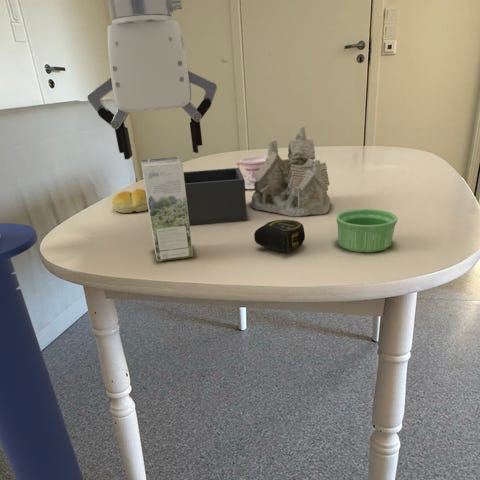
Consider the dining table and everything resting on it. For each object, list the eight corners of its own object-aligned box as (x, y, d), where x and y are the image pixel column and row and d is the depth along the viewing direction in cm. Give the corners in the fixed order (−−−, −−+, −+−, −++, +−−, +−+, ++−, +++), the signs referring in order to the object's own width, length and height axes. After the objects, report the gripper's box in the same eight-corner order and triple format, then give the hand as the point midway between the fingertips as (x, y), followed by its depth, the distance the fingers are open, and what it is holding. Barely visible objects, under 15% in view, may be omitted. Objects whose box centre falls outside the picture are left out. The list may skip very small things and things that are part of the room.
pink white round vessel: (281, 178, 117) (281, 154, 114) (280, 189, 106) (280, 162, 103) (236, 180, 118) (234, 156, 115) (231, 191, 108) (229, 164, 105)
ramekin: (378, 258, 64) (381, 229, 62) (324, 247, 70) (325, 220, 68) (403, 240, 70) (407, 213, 68) (352, 231, 75) (353, 206, 73)
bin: (181, 225, 85) (176, 185, 81) (182, 208, 96) (178, 172, 92) (246, 220, 85) (244, 179, 82) (241, 204, 96) (238, 167, 93)
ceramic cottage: (251, 197, 100) (250, 125, 92) (325, 197, 99) (331, 124, 91) (248, 222, 87) (247, 140, 78) (334, 222, 86) (341, 139, 77)
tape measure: (252, 249, 71) (251, 226, 69) (282, 237, 75) (281, 216, 73) (283, 258, 67) (283, 234, 65) (313, 246, 70) (314, 223, 68)
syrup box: (189, 246, 74) (178, 154, 67) (193, 258, 69) (182, 160, 62) (155, 250, 73) (140, 158, 66) (156, 263, 68) (140, 164, 61)
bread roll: (116, 205, 102) (113, 188, 100) (155, 202, 102) (153, 185, 100) (110, 215, 95) (106, 196, 93) (152, 212, 95) (149, 193, 93)
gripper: (208, 9, 59) (221, 146, 67) (77, 20, 59) (106, 156, 67) (210, 0, 53) (223, 152, 61) (62, 12, 52) (96, 164, 60)
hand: (162, 154), depth 64 cm, fingers open, 9 cm apart
